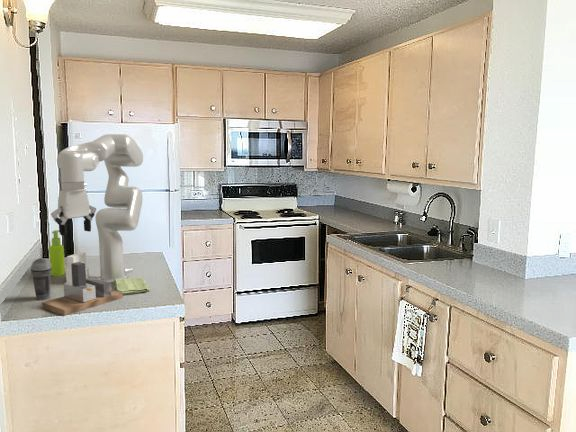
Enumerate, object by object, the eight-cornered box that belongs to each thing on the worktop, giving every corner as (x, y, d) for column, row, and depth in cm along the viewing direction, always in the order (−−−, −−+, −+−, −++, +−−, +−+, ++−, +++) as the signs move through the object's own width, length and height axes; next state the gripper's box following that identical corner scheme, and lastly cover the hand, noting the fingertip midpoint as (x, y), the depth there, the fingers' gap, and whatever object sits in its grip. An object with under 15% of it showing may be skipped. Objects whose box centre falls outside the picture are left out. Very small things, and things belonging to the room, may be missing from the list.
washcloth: (116, 297, 187) (116, 289, 186) (112, 285, 202) (112, 278, 202) (151, 293, 192) (150, 285, 192) (144, 282, 208) (144, 275, 207)
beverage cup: (48, 294, 188) (45, 244, 185) (57, 298, 184) (54, 247, 181) (29, 298, 183) (25, 247, 180) (37, 302, 178) (34, 250, 175)
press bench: (100, 291, 193) (99, 274, 192) (122, 297, 185) (122, 280, 184) (42, 307, 173) (41, 288, 172) (64, 315, 165) (63, 295, 164)
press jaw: (76, 293, 183) (74, 259, 181) (98, 299, 175) (96, 265, 173) (64, 296, 178) (62, 262, 177) (85, 303, 171) (84, 267, 169)
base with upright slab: (80, 285, 201) (79, 257, 199) (61, 283, 202) (60, 256, 201) (93, 279, 209) (92, 252, 208) (75, 278, 211) (73, 251, 209)
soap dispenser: (68, 272, 221) (65, 229, 218) (61, 276, 214) (59, 232, 211) (55, 272, 221) (52, 229, 218) (48, 276, 214) (45, 232, 211)
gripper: (87, 184, 181) (90, 228, 184) (43, 187, 167) (47, 235, 170) (100, 185, 177) (102, 230, 180) (56, 189, 163) (59, 238, 166)
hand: (75, 233), depth 175 cm, fingers open, 9 cm apart
